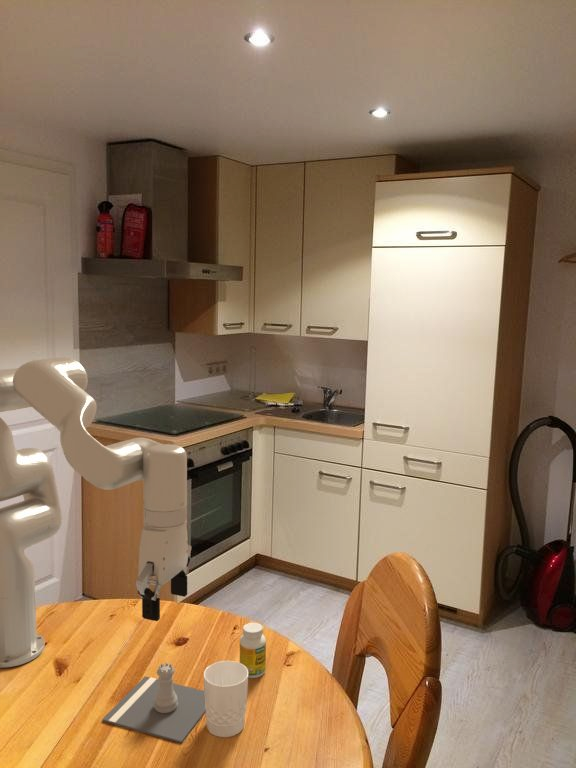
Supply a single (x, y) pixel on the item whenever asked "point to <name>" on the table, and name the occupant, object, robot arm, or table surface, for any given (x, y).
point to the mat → (144, 718)
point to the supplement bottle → (253, 649)
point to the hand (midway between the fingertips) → (165, 606)
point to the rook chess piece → (165, 690)
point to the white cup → (225, 697)
